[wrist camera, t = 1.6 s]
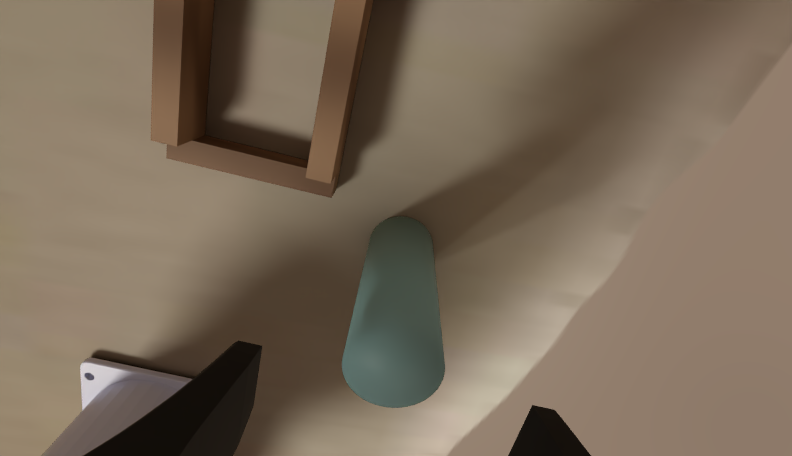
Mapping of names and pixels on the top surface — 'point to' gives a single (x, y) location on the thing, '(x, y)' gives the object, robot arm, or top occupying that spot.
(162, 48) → the cradle
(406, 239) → the peg
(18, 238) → the top surface
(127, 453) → the robot arm
